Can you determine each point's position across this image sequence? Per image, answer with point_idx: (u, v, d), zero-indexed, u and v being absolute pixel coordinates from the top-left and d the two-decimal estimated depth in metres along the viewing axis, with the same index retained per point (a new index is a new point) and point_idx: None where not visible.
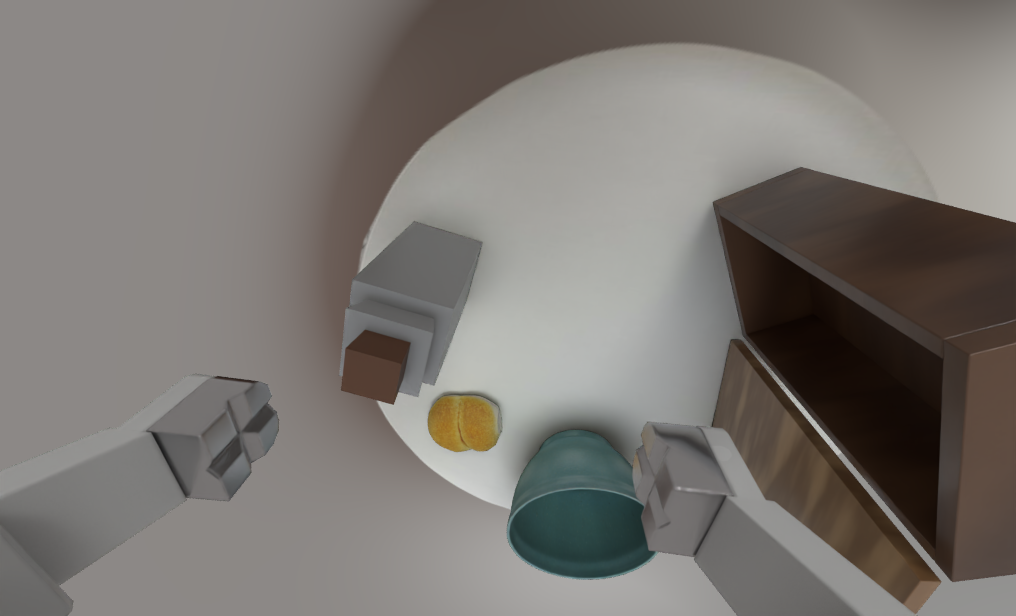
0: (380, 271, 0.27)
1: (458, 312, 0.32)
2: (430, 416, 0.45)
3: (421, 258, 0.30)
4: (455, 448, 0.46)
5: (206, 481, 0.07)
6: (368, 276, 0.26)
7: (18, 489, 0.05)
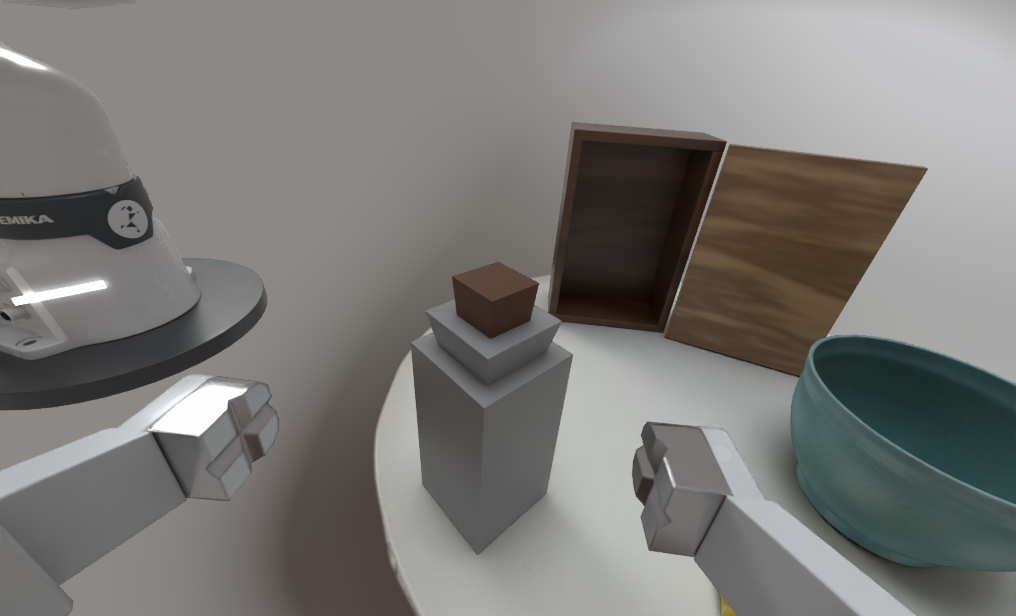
0: None
1: None
2: None
3: None
4: None
5: (206, 481, 0.07)
6: None
7: (18, 489, 0.05)
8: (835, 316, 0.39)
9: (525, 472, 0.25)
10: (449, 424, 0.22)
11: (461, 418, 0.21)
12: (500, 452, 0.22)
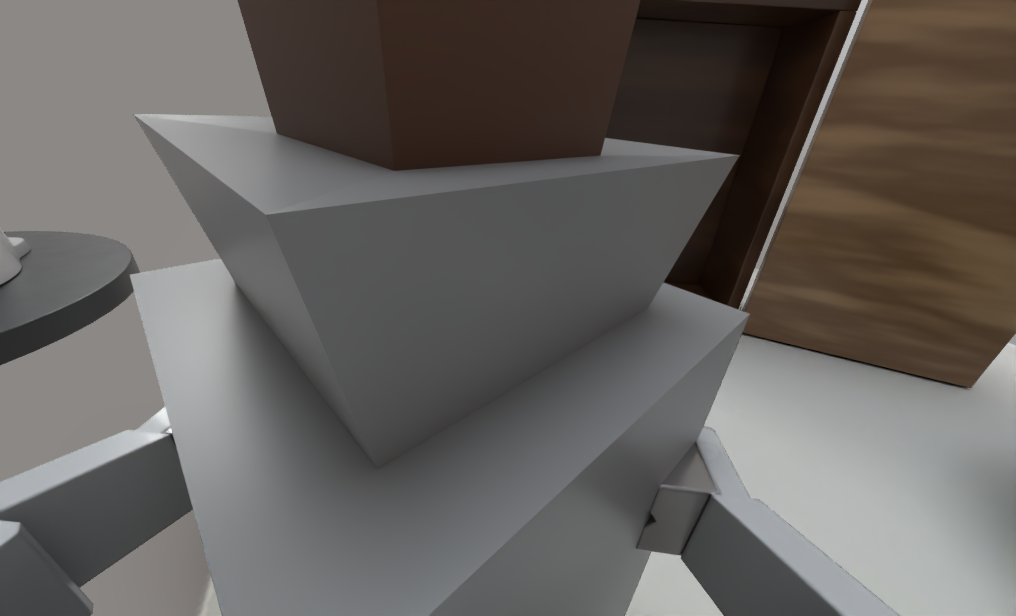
0: None
1: None
2: None
3: None
4: None
5: None
6: None
7: (40, 492, 0.05)
8: None
9: None
10: None
11: None
12: None
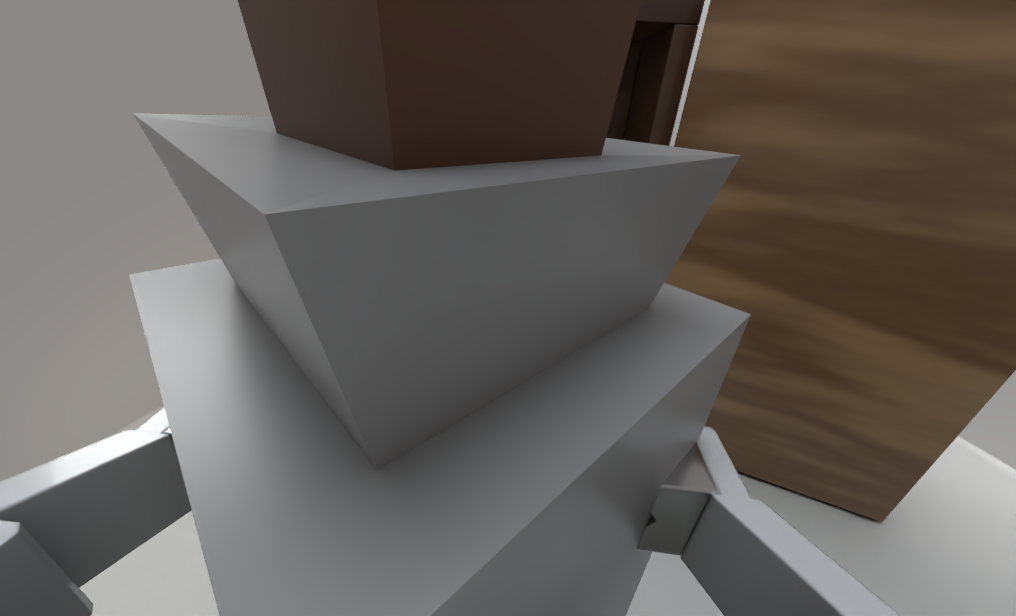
0: None
1: None
2: None
3: None
4: None
5: None
6: None
7: (39, 492, 0.05)
8: (972, 408, 0.17)
9: None
10: None
11: None
12: None
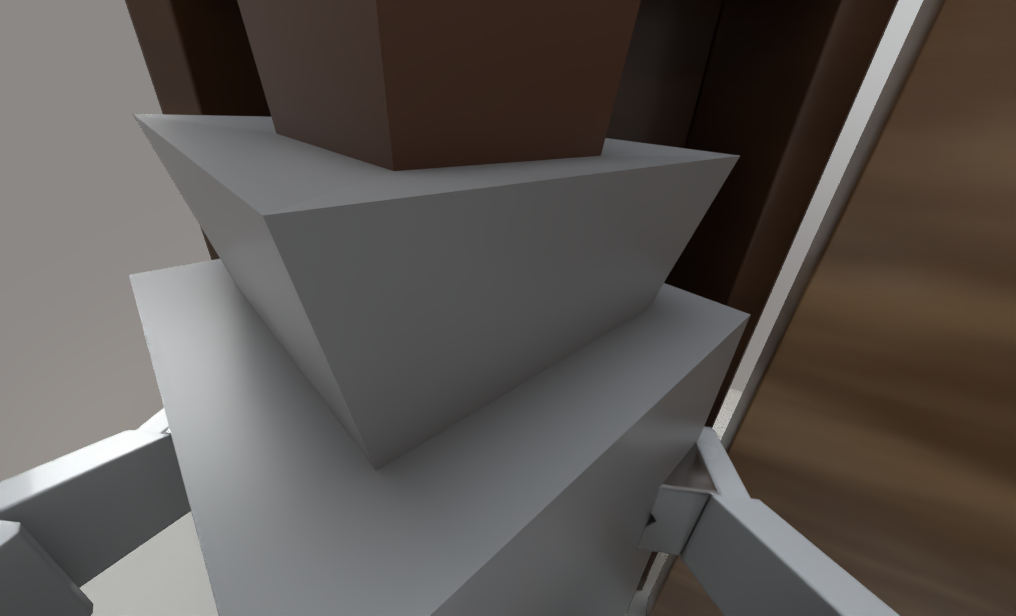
0: None
1: None
2: None
3: None
4: None
5: None
6: None
7: (40, 492, 0.05)
8: None
9: None
10: None
11: None
12: None
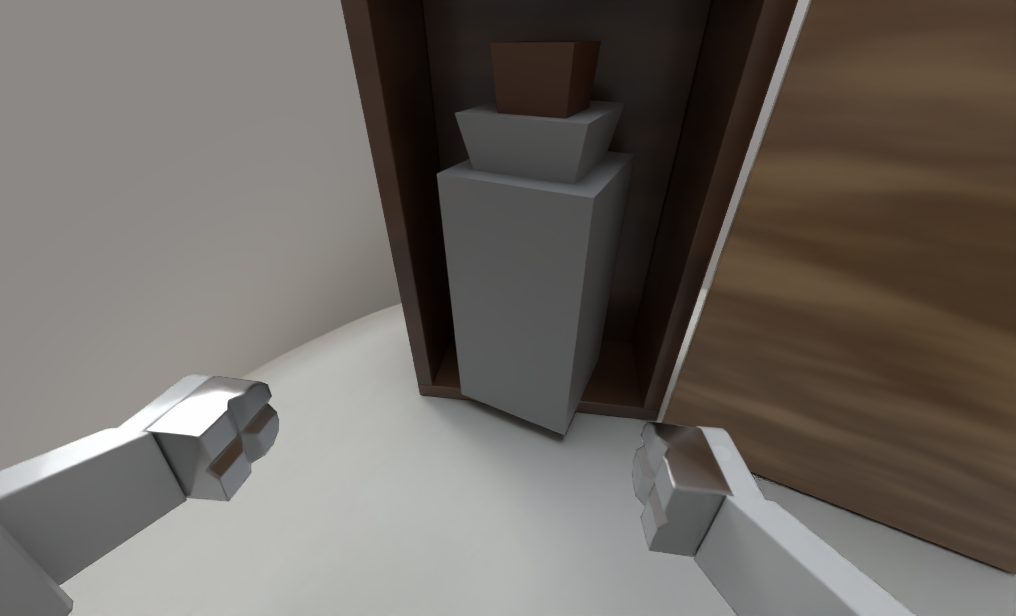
0: None
1: None
2: None
3: None
4: None
5: (206, 481, 0.07)
6: None
7: (18, 489, 0.05)
8: None
9: (595, 324, 0.21)
10: (517, 270, 0.17)
11: (543, 245, 0.16)
12: (590, 283, 0.17)
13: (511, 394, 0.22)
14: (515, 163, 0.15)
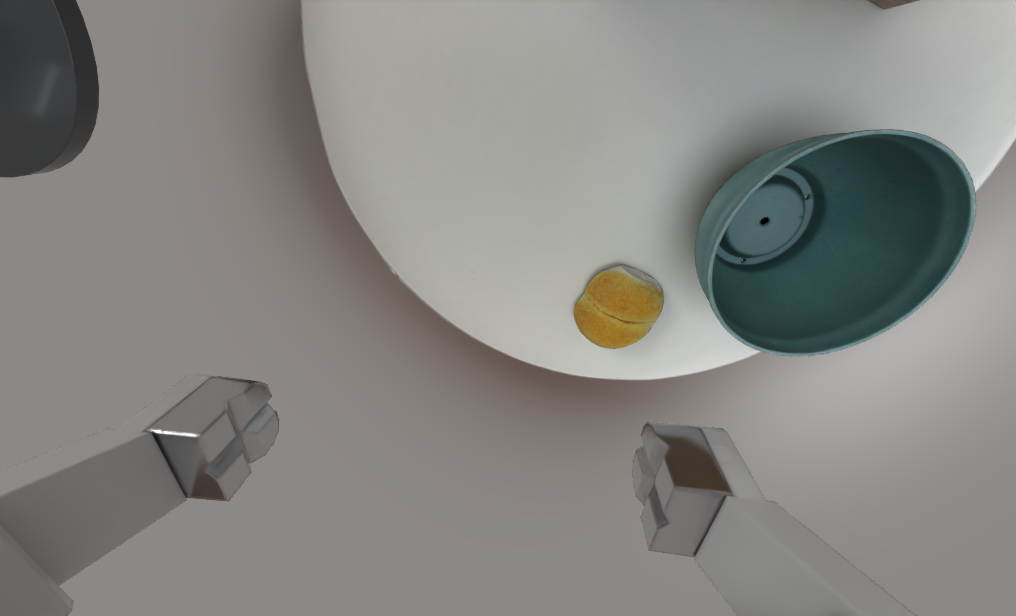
0: None
1: None
2: (582, 333, 0.41)
3: None
4: (634, 335, 0.39)
5: (206, 481, 0.07)
6: None
7: (17, 489, 0.05)
8: None
9: None
10: None
11: None
12: None
13: None
14: None
